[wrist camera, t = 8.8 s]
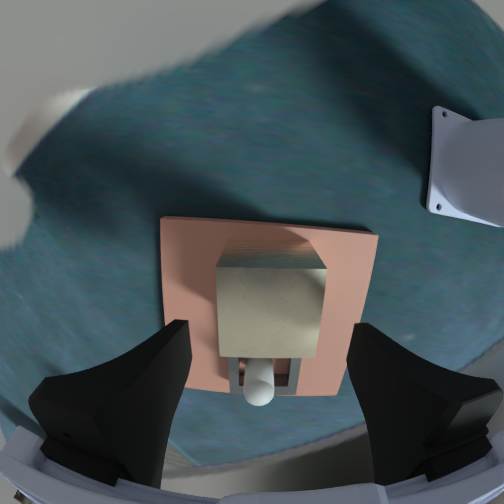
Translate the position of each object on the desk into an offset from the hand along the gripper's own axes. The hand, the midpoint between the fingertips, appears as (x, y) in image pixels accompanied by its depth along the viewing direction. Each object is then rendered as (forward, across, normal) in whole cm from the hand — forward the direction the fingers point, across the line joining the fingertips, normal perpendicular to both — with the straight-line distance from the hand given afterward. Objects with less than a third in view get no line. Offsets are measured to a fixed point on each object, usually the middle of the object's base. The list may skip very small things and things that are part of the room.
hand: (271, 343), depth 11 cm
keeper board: (+8, 0, +3) cm, 8 cm away
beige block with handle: (+7, 0, +3) cm, 7 cm away
